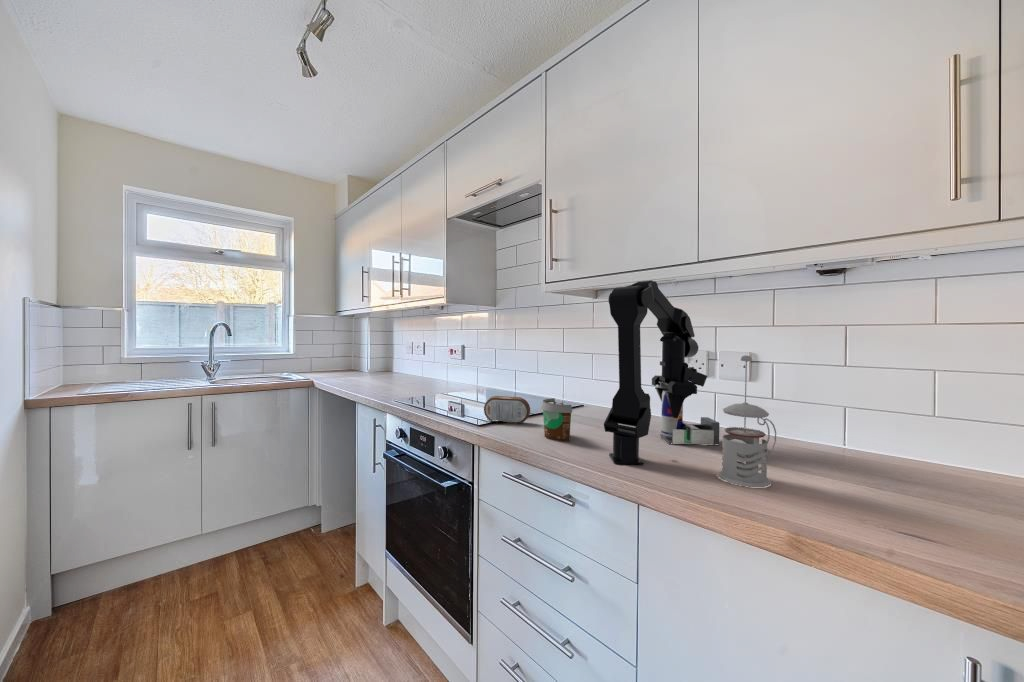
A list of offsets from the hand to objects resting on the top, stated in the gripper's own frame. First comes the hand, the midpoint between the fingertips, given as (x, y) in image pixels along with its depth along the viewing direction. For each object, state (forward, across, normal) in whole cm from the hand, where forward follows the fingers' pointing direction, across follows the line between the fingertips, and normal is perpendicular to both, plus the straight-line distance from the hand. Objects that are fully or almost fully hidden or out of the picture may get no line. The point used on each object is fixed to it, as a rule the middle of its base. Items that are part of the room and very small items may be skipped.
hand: (671, 415), depth 110 cm
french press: (+7, -28, -6) cm, 30 cm away
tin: (+7, +18, +46) cm, 50 cm away
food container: (+7, +1, +32) cm, 33 cm away
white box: (+6, -1, -5) cm, 7 cm away
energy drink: (+6, 0, 0) cm, 6 cm away
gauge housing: (+7, 0, -5) cm, 8 cm away
